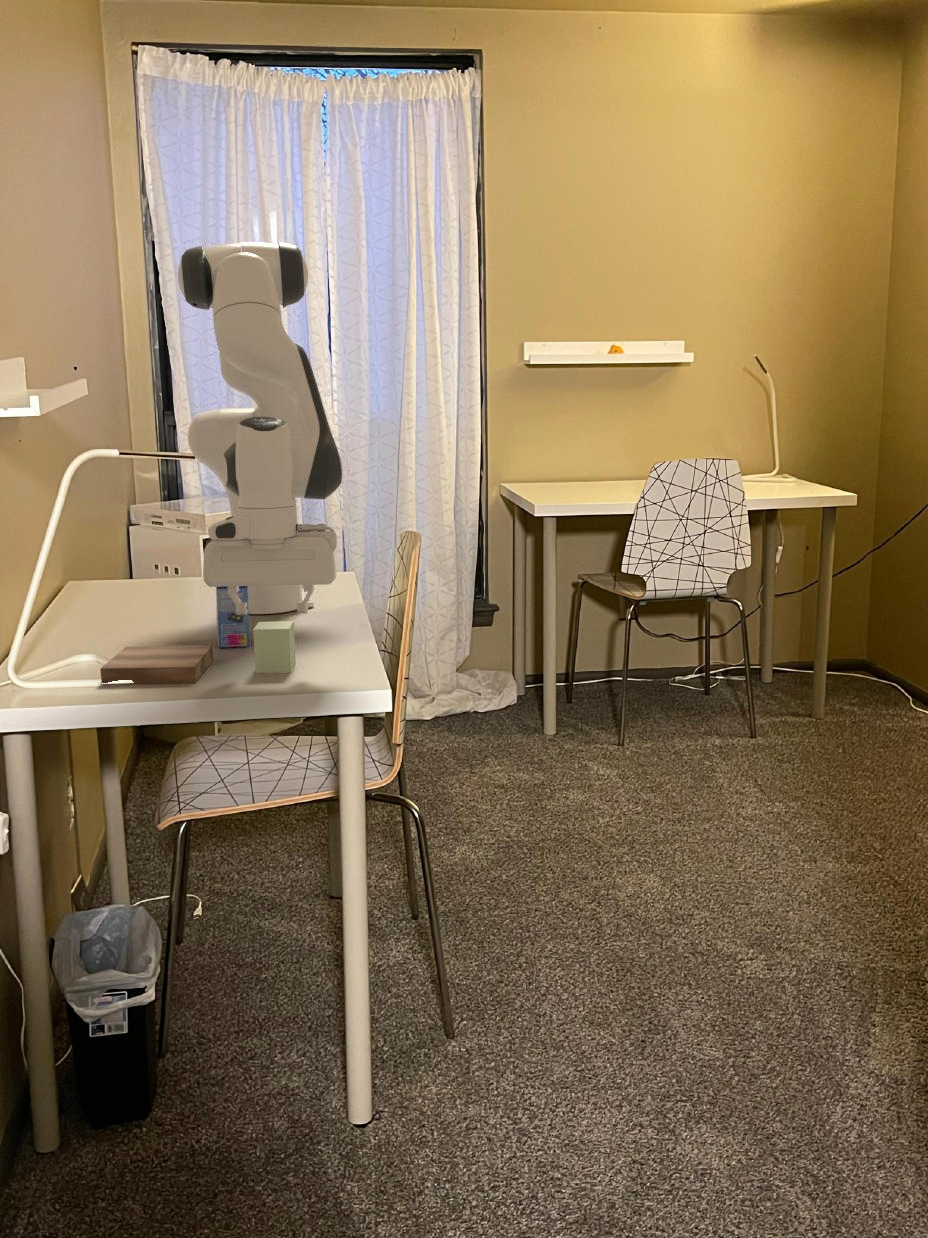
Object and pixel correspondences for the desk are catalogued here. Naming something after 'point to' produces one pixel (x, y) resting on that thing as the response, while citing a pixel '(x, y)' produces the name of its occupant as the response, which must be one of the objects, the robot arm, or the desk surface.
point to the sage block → (274, 647)
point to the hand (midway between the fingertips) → (272, 613)
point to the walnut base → (158, 664)
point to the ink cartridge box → (231, 619)
